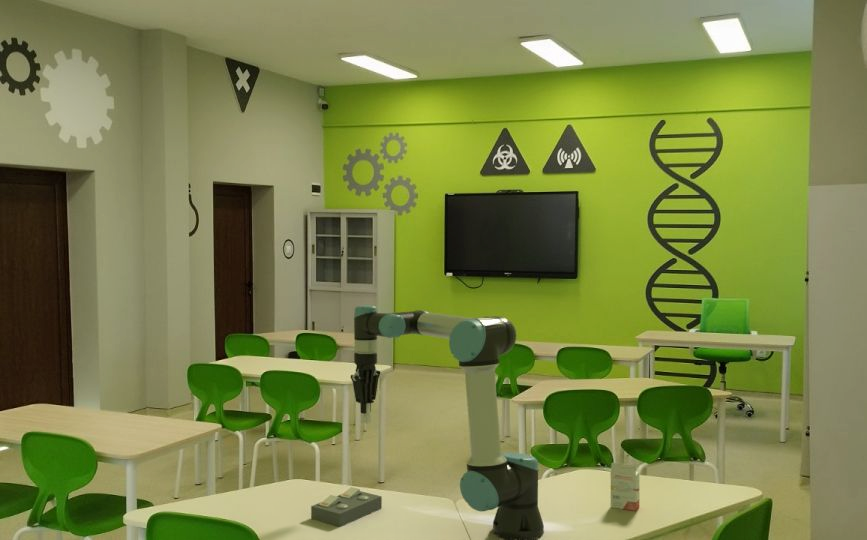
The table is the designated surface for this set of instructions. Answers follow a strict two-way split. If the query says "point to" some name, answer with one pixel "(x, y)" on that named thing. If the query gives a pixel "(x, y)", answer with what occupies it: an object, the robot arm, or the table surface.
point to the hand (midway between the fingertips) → (365, 422)
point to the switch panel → (347, 509)
